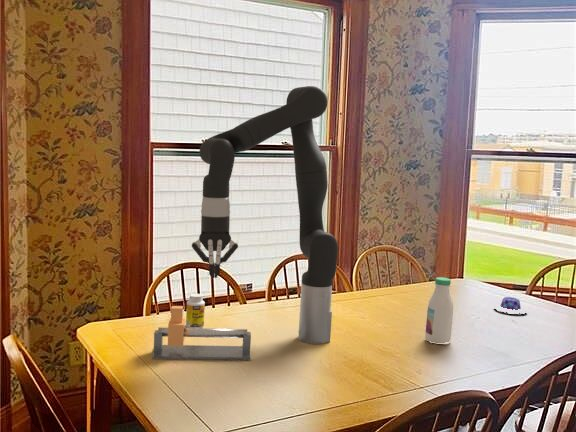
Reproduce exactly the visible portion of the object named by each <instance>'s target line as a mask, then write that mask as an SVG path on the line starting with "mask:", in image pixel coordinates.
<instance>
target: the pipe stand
mask: <svg viewBox="0 0 576 432" xmlns="http://www.w3.org/2000/svg"><path fill="white" fill-rule="evenodd" d="M163 337H166V338H168V327H158V329H156V330H154V332H153V353H152V356H151V357H152V358H151V359H152V360H185V361H186V360H188V361H189V360H191V361H192V360H193V361H194V360H195V361H196V360H197V361H200V360H201V361H202V360H203V361H251V358H252V357H251V343H252V341H251V340H252V333H251V331H248V328H211V327H210V328H209V327H206V328H205V327H202V328H188V327H184V332H183V337H184V338H222V339H224V338H225V339H227V338H228V339H229V338H231V339H234V338H235V339H242V346H241V345H196V344H194V345H192V344H191V345H190V344H189V345H187V344H183V347H169V346H168V344H163V340H164V339H163Z"/></svg>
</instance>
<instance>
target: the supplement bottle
mask: <svg viewBox="0 0 576 432" xmlns="http://www.w3.org/2000/svg"><path fill="white" fill-rule="evenodd" d="M203 299H204V298H203V294H201V293H191V294H189V299H188V300H187V301H186V313H185V314H186V315H185V316H186V317H185V326H186V328H204V325H205V307H206V305H205V304H206V302H205V301H204V300H203Z"/></svg>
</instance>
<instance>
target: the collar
mask: <svg viewBox="0 0 576 432" xmlns="http://www.w3.org/2000/svg"><path fill="white" fill-rule="evenodd" d="M170 310H171V311H170V318H169V321H168V325H167V328H168V337H167V345H168V346H169V347H183V345H184V343H185V337H183V332H184V328H186V327H185V326H186V317H185V318H184V317H183V316H184V305H172V306H171V308H170Z"/></svg>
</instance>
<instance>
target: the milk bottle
mask: <svg viewBox="0 0 576 432" xmlns="http://www.w3.org/2000/svg"><path fill="white" fill-rule="evenodd" d="M451 282H452V281H451V278H448V277H436V278H435V280H434V285H435V287H434V290H433V293H432V295H431V296H430V298H429V300H428V305H427V311H426V312H427V314H426V325H425V333H424V334H425V336H424V339H425V341H426V340H428V341H431V342H435V343H445V342H449V341H450V340H451V339H452V329H453V320H454V319H453V318H454V317H453V316H454V302H453V298H452V295H451V292H450V287H451ZM450 342H451V341H450Z"/></svg>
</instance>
